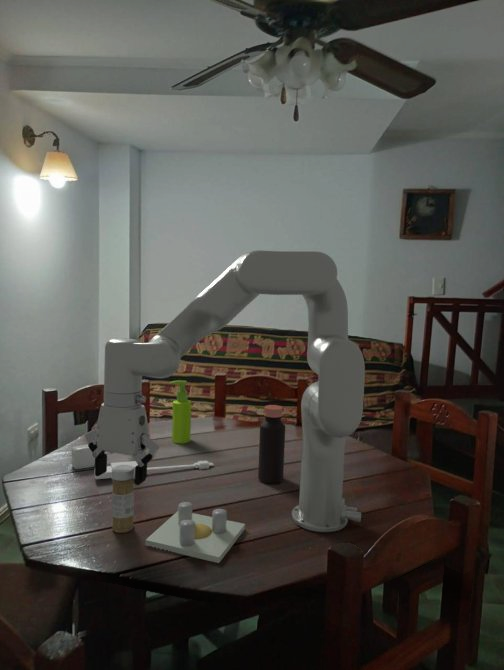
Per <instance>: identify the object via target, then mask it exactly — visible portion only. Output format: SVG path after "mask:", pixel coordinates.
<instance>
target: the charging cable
mask: <svg viewBox="0 0 504 670" xmlns="http://www.w3.org/2000/svg"><path fill="white" fill-rule="evenodd" d="M118 465H131V466H133V467H134V478H133V480H135V467H136V466H137V465H138V464H137V462H136V461H135V460H134V461H120V462H110V465H107V471H106V472H105V473H103V474H101V475H100V476H95V467H94V468H93V469H94V470H93V472H94V473H93V474H94V477H95V480H101V479H103V480H104V479H111V482H113V480H112V479H113V478H112V469H113V468H114V467H115V466H118ZM214 466H215V464H214V463H213V462H209V461H208V460H198V461H197V462H194V463H192V464H182V465H181V464H179V465H171V466H170V465H169V466H156V467H155V466H153V467H147V472H148V471H158V470H159V471H160V470H161V471H162V470H170V469H171V470H174V469H184V468H186V469H187V468H195V469H199V470H205V469H209V468H210V467H214Z"/></svg>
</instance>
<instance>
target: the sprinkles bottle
mask: <svg viewBox="0 0 504 670" xmlns="http://www.w3.org/2000/svg"><path fill="white" fill-rule="evenodd" d="M112 478H113V479H111V481H112V480H113V481H112V491H111V492H112V493H111V495H112V496H111V497H112V503H111V506H112V507H111V509H112V510H111V512H112V513H111V514H112V526H111V529H112V531H113V532H115V533H119V534H120V533H121V534H124V533H129V532H130V531H132V530H133V529H134V525H135V524H134V510H135V509H134V508H135V507H134V505H135V502H134V501H135V500H134V499H135V497H134V496H135V491H134V490H135V489H134V479H133V478H134V467H133V466H131V465H118V466H115V467H114V468H113V469H112Z"/></svg>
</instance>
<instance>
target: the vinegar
mask: <svg viewBox="0 0 504 670" xmlns="http://www.w3.org/2000/svg"><path fill="white" fill-rule="evenodd" d="M263 408H264V410H263V415H264V416H263V417H264V420H263V421H262V422H261V423H260V425H259V442H258V443H259V444H258V445H259V447H258V470H257V471H258V472H257V479H258V481H259V482H261V483H263V484H268V485H275V484H276V485H277V484H280V483H281V482H283V480H284V470H285V468H284V466H285V448H286V447H285V445H286V444H285V443H286V425H285V423H284V422H283V421H282V418H283V412H284V411H283V406H282V405H278V404H268V405H265V406H264V407H263Z"/></svg>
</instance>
